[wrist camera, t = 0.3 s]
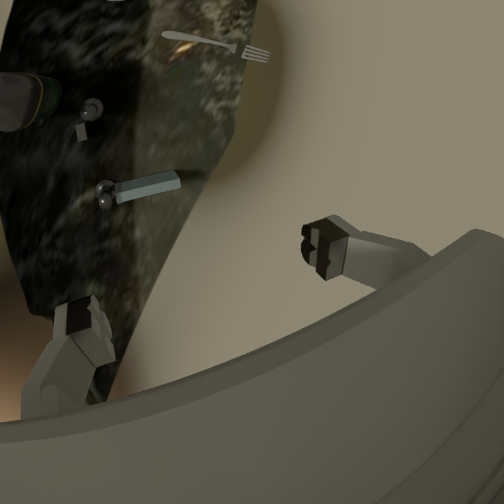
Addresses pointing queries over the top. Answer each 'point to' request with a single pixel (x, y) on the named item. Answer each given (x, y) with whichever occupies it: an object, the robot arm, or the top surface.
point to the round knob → (105, 193)
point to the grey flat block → (146, 186)
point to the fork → (198, 39)
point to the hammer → (88, 116)
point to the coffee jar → (26, 99)
